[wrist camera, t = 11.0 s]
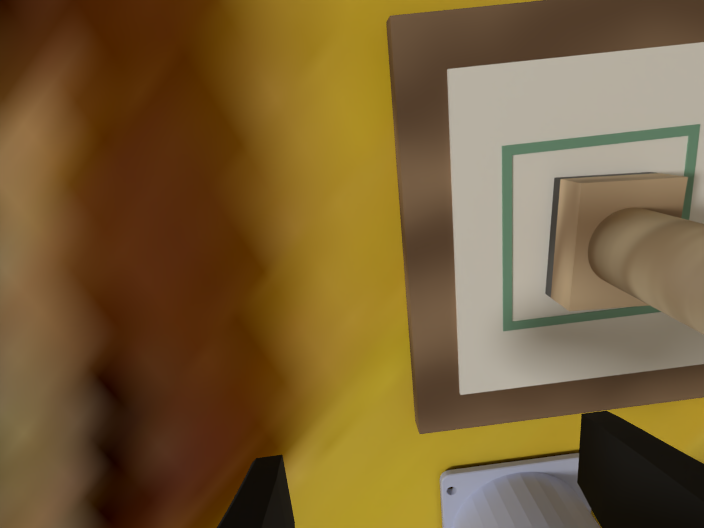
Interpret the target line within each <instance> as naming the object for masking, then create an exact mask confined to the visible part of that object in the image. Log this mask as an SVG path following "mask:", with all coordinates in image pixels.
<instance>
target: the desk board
mask: <svg viewBox="0 0 704 528" xmlns="http://www.w3.org/2000/svg"><path fill="white" fill-rule="evenodd" d="M387 36H388V50H389V64H390V77H391V91H392V105H393V119H394V132H395V146H396V160H397V174H398V187H399V201H400V215H401V228H402V242H403V256H404V270H405V283H406V297H407V311H408V325H409V338H410V352H411V366H412V380H413V393H414V407H415V421H416V424H417V427H418V431H419V434H425V433H432V432H440V431H448V430H455V429H463V428H471V427H479V426H486V425H494V424H502V423H509V422H517V421H525V420H532V419H540V418H548V417H556V416H563V415H571V414H579V413H586V412H594V411H602V410H610V409H617V408H625V407H633V406H640V405H648V404H656V403H663V402H671V401H679V400H687V399H694V398H702V397H704V364H700V365H692V366H684V367H676V368H669V369H661V370H653V371H645V372H637V373H629V374H621V375H614V376H606V377H598V378H590V379H582V380H574V381H567V382H559V383H551V384H543V385H535V386H527V387H519V388H512V389H504V390H496V391H488V392H480V393H472V394H465V395H460V393H459V367H458V341H457V315H456V289H455V264H454V238H453V212H452V186H451V160H450V134H449V108H448V83H447V69H453V68H462V67H472V66H481V65H491V64H500V63H510V62H519V61H529V60H538V59H548V58H557V57H567V56H576V55H586V54H596V53H605V52H615V51H624V50H634V49H643V48H653V47H662V46H672V45H681V44H691V43H700V42H704V0H543V1H533V2H523V3H513V4H503V5H493V6H483V7H473V8H463V9H453V10H444V11H434V12H424V13H414V14H404V15H394V16H390V17H389V19H388V20H387Z"/></svg>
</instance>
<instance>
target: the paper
mask: <svg viewBox="0 0 704 528" xmlns="http://www.w3.org/2000/svg"><path fill="white" fill-rule="evenodd" d="M447 83H448V108H449V134H450V160H451V186H452V212H453V238H454V264H455V289H456V315H457V341H458V367H459V393H460V395H465V394H472V393H480V392H488V391H496V390H504V389H512V388H519V387H527V386H535V385H543V384H551V383H559V382H567V381H574V380H582V379H590V378H598V377H606V376H614V375H621V374H629V373H637V372H645V371H653V370H661V369H669V368H676V367H684V366H692V365H700V364H704V335H703V334H702V333H700V332H698V331H696V330H694V329H692V328H690V327H689V326H687V325H685V324H683V323H681V322H679V321H678V320H676V319H674V318H672V317H670V316H668V315H666V314H665V313H663V312H661V311H659V310H657V309H655V308H654V307H652V306H636V307H622V308H608V309H595V310H581V311H568V310H567V309H565V308H564V307H563V306H561V305H560V304H559V303H557V302H556V301H555V300H553V299H552V298H550V297H549V296H548V295H546V294H545V290H546V278H547V265H548V252H549V239H550V227H551V214H552V201H553V188H554V178H556V177H573V176H590V175H607V174H624V173H641V172H654V173H662V174H669V175H677V176H684V177H688V180H687V186H686V192H685V198H684V204H683V210H682V217H681V218H682V219H686V220H690V221H694V222H698V223H702V224H704V42H700V43H691V44H681V45H672V46H662V47H653V48H643V49H634V50H624V51H615V52H605V53H596V54H586V55H576V56H567V57H557V58H548V59H538V60H529V61H519V62H510V63H500V64H491V65H481V66H472V67H462V68H453V69H447Z"/></svg>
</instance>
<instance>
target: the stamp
mask: <svg viewBox="0 0 704 528" xmlns="http://www.w3.org/2000/svg"><path fill="white" fill-rule="evenodd" d="M687 180H688V177H684V176H677V175H669V174H662V173H654V172H641V173H624V174H607V175H590V176H573V177H556V178H554V188H553V201H552V214H551V227H550V239H549V252H548V265H547V278H546V290H545V294H546V295H548V296H549V297H550V298H552V299H553V300H555V301H556V302H557V303H559V304H560V305H561V306H563V307H564V308H565V309H567V310H568V311H581V310H595V309H608V308H622V307H636V306H652V307H654V308H655V309H657V310H659V311H661V312H663V313H665V314H666V315H668V316H670V317H672V318H674V319H676V320H678V321H679V322H681V323H683V324H685V325H687V326H689V327H690V328H692V329H694V330H696V331H698V332H700V333H702V334H703V335H704V224H702V223H698V222H694V221H690V220H686V219H682V218H681V217H682V210H683V204H684V198H685V192H686V186H687Z"/></svg>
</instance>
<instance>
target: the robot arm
mask: <svg viewBox="0 0 704 528" xmlns="http://www.w3.org/2000/svg"><path fill="white" fill-rule="evenodd" d="M449 487H453V488H452V489H448V488H449ZM440 492H441V509H442V527H443V528H601V527H602V528H704V464H703V463H701V462H699V461H697V460H695V459H694V458H692V457H690V456H688V455H686V454H685V453H683V452H681V451H679V450H677V449H676V448H674V447H672V446H670V445H668V444H667V443H665V442H663V441H661V440H659V439H658V438H656V437H654V436H652V435H651V434H649V433H647V432H645V431H643V430H642V429H640V428H638V427H636V426H634V425H633V424H631V423H629V422H627V421H625V420H624V419H622V418H620V417H618V416H616V415H614V414H612V413H610V412H608V411H601V412H593V413H586V414H582V418H581V433H580V448H579V453H574V454H566V455H559V456H551V457H544V458H536V459H529V460H521V461H514V462H506V463H499V464H491V465H483V466H476V467H468V468H461V469H453V470H448V471H445V472H443V473H442V474H441V476H440ZM591 509H592V511H593V513H594V514H595V516H596V518H597V520H598V522H599V523H600V525H601V527H600V526H599V525H598V523H597V522H596V520H595V519H594V517H593V516H592V515H591ZM217 528H295V522H294V516H293V511H292V505H291V500H290V495H289V489H288V484H287V478H286V473H285V467H284V462H283V456H282V455H277V456H270V457H262V458H256V459H255V460H254V462H253V463H252V465H251V467H250V469H249V471H248V473H247V475H246V477H245V478H244V480H243V482H242V484H241V486H240V488H239V490H238V492H237V494H236V495H235V497H234V499H233V501H232V503H231V505H230V506H229V508H228V510H227V512H226V513H225V515H224V517H223V518H222V520H221V522H220V523H219V525H218V527H217Z"/></svg>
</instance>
